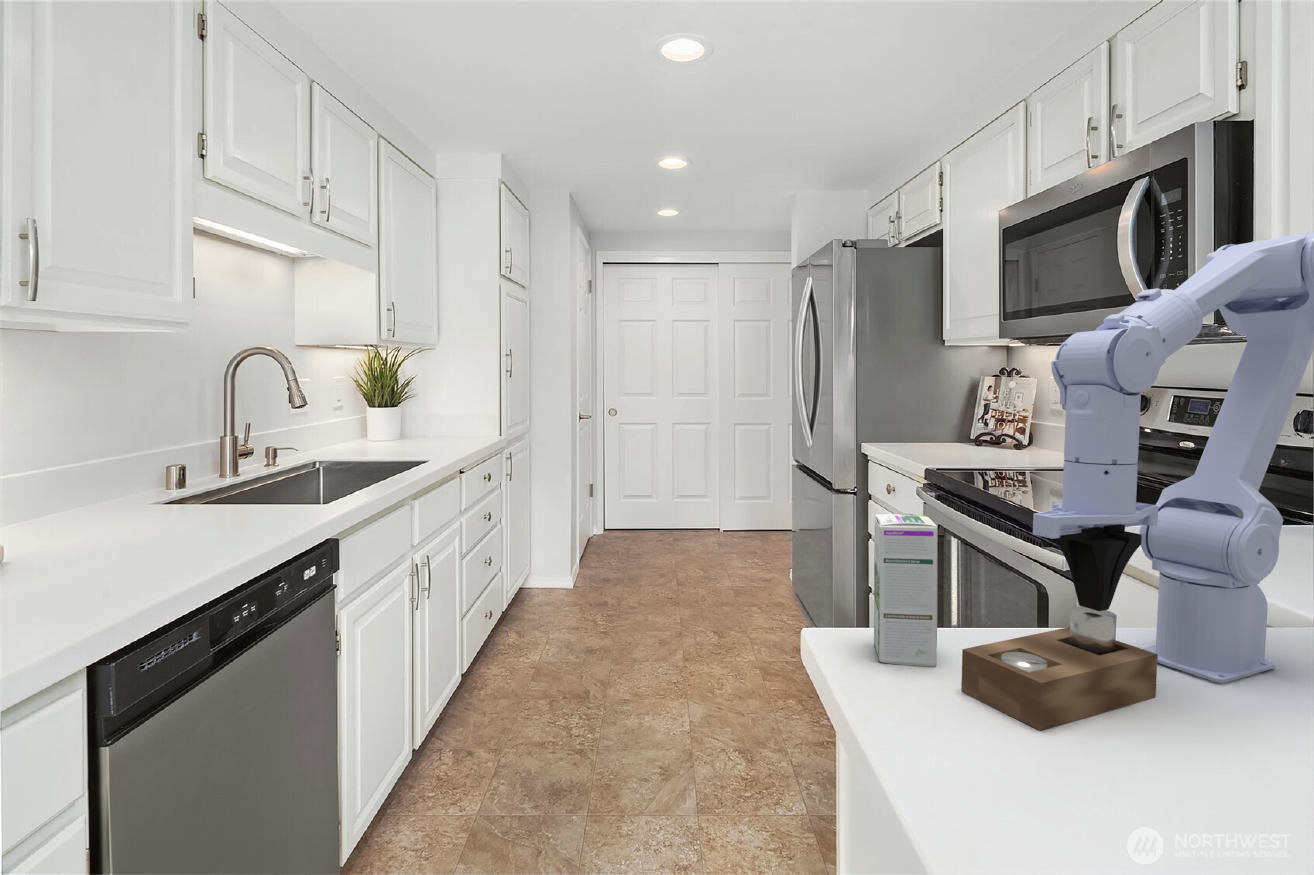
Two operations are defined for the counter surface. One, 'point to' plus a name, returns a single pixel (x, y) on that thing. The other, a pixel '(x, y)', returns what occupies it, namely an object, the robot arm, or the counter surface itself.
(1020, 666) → the outer pin
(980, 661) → the walnut block
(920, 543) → the syrup box
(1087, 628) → the silver short cylinder
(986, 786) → the counter surface
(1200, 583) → the robot arm
